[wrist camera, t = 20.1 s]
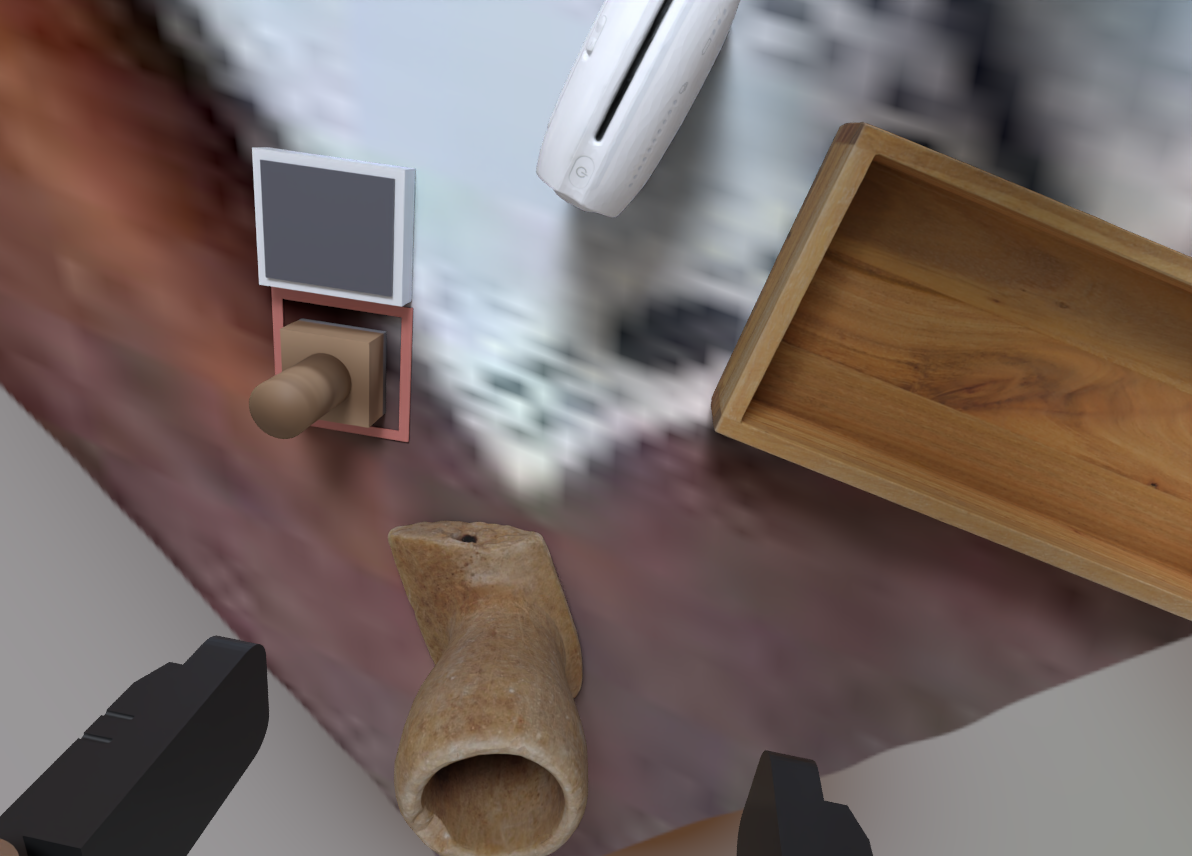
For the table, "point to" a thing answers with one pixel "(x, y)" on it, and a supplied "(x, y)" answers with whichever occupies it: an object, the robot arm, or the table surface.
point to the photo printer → (629, 97)
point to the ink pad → (334, 225)
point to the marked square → (365, 306)
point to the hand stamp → (323, 379)
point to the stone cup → (490, 694)
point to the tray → (979, 363)
